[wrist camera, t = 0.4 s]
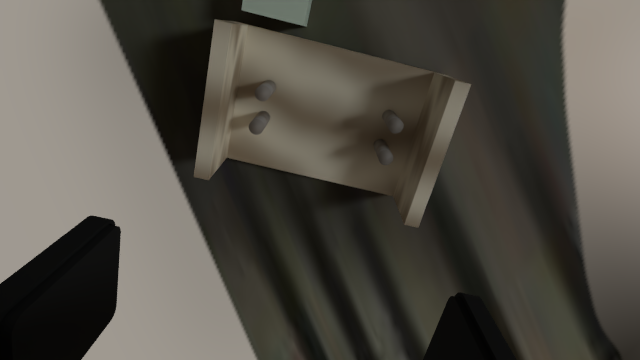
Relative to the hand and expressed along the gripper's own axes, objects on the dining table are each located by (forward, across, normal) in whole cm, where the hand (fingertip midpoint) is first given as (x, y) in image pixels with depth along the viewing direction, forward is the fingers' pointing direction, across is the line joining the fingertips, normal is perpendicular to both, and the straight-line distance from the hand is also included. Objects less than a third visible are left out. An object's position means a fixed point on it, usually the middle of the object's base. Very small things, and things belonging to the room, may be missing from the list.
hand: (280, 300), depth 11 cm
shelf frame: (+28, -1, 0) cm, 28 cm away
